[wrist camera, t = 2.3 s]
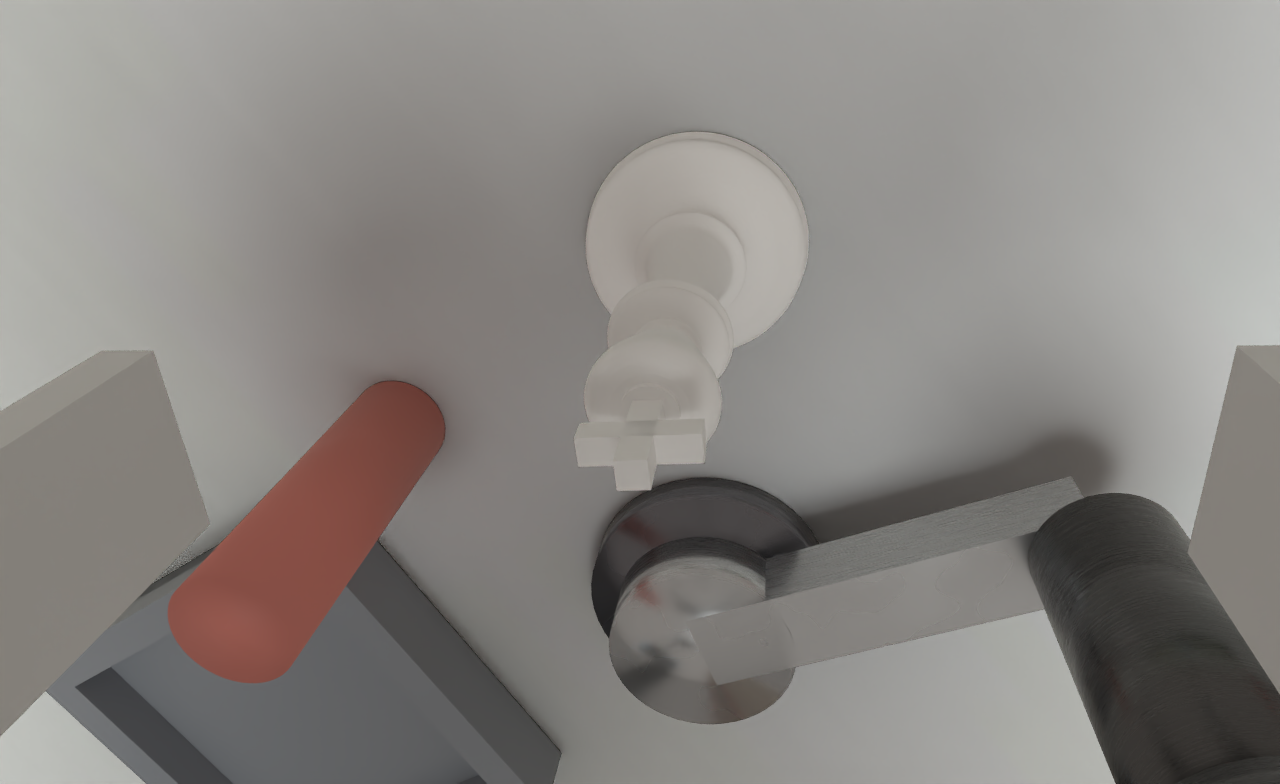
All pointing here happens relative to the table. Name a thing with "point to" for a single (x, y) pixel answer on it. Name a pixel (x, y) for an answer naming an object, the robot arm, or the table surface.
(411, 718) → the tray
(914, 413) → the table surface
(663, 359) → the chess piece
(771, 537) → the crank base
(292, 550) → the post
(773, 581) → the crank arm
